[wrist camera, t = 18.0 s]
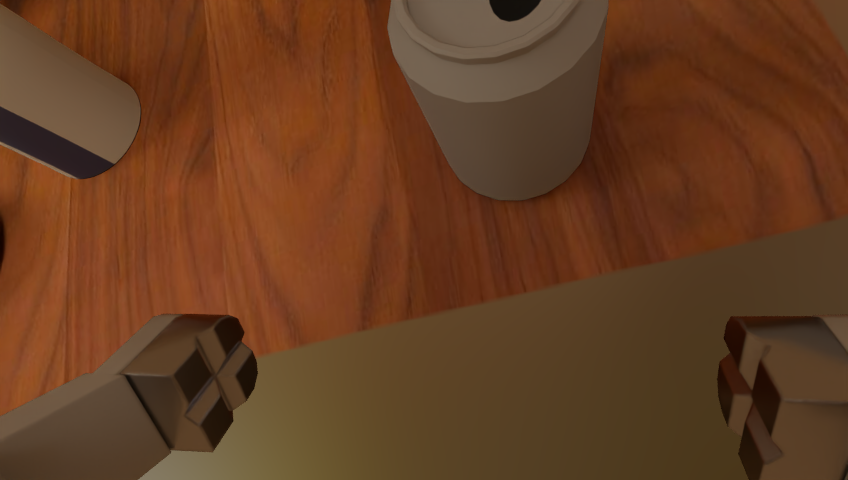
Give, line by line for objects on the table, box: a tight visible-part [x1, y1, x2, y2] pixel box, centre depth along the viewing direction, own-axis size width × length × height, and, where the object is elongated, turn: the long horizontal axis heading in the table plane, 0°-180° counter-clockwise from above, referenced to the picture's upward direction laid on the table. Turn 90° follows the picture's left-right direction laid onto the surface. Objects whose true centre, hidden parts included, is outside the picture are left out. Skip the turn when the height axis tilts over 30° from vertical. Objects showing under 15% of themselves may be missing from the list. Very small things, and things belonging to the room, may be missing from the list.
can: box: [387, 0, 608, 200], centre depth 21 cm, size 8×8×12 cm
